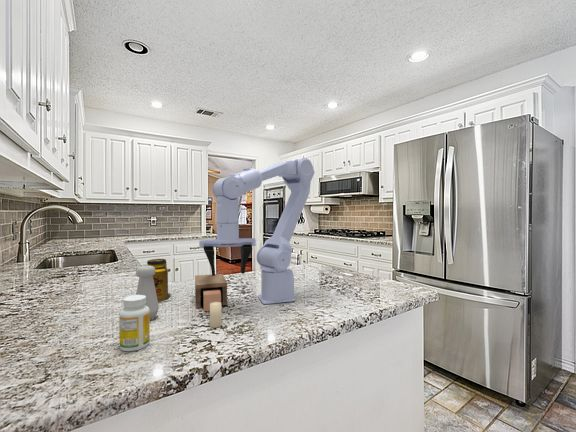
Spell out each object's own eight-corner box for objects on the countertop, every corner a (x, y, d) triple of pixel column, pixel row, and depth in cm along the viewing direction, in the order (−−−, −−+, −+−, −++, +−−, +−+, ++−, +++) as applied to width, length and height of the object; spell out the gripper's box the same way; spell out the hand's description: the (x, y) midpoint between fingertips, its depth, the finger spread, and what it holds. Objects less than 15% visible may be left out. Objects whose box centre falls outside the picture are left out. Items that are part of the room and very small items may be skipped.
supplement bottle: (126, 355, 55) (125, 303, 54) (115, 346, 58) (114, 298, 58) (154, 344, 59) (154, 297, 58) (142, 337, 62) (142, 292, 62)
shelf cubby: (222, 293, 94) (222, 273, 94) (227, 305, 83) (227, 282, 83) (195, 296, 92) (195, 275, 91) (195, 308, 80) (195, 285, 80)
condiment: (143, 304, 84) (143, 262, 83) (145, 296, 92) (144, 257, 91) (171, 301, 87) (170, 260, 86) (170, 293, 94) (170, 256, 94)
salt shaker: (148, 324, 69) (147, 269, 69) (127, 322, 70) (126, 268, 70) (163, 315, 75) (163, 264, 75) (143, 313, 76) (143, 263, 76)
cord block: (219, 304, 83) (219, 286, 83) (226, 326, 68) (225, 304, 67) (203, 306, 81) (203, 288, 81) (206, 328, 66) (206, 306, 66)
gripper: (252, 221, 84) (252, 269, 84) (198, 222, 79) (199, 272, 80) (257, 222, 77) (257, 274, 77) (199, 224, 73) (200, 278, 73)
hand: (228, 274), depth 78 cm, fingers open, 7 cm apart
